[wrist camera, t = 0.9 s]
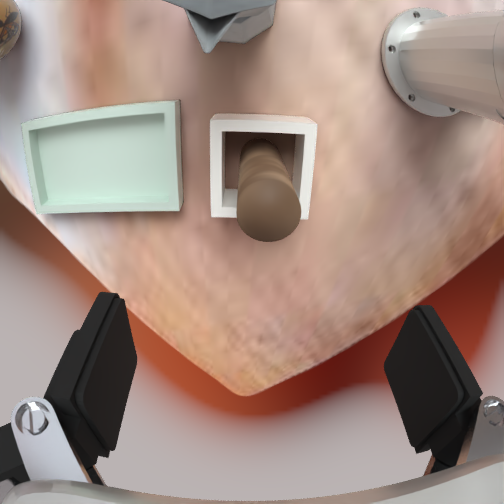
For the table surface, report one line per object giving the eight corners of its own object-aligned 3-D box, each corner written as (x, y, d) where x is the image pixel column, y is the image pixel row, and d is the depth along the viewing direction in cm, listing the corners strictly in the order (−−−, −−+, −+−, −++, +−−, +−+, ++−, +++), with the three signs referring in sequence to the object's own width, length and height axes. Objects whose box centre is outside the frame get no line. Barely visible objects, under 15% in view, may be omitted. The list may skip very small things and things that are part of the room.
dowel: (280, 139, 31) (304, 183, 19) (278, 176, 33) (298, 242, 21) (240, 137, 31) (236, 181, 19) (239, 175, 33) (236, 241, 21)
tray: (180, 99, 28) (174, 101, 26) (183, 201, 34) (179, 211, 32) (33, 119, 28) (21, 123, 26) (46, 205, 33) (36, 214, 31)
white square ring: (306, 116, 30) (317, 124, 25) (299, 199, 34) (308, 219, 30) (215, 113, 29) (209, 119, 25) (215, 197, 34) (211, 217, 30)
